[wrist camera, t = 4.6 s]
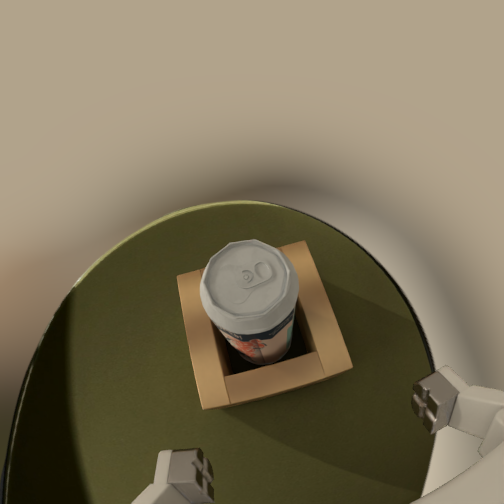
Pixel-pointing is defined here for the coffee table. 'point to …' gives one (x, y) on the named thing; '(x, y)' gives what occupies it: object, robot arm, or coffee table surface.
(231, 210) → the coffee table surface
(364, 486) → the coffee table surface
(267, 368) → the holder
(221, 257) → the beer can
